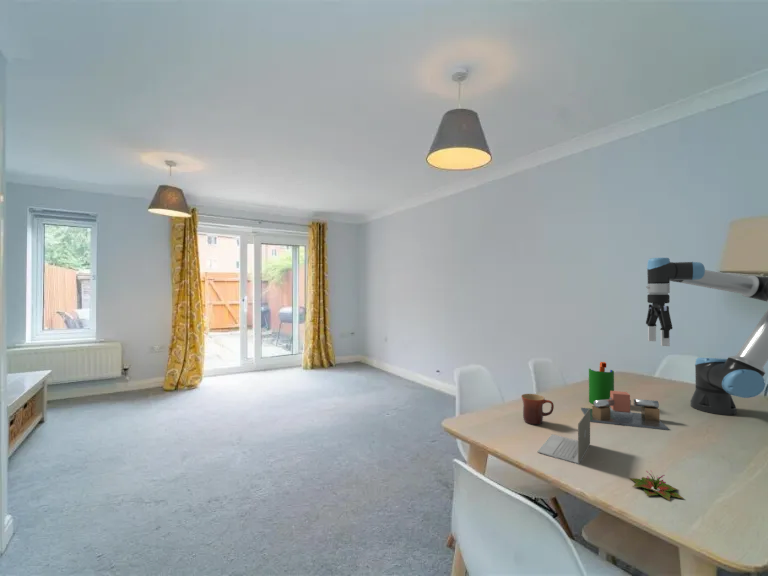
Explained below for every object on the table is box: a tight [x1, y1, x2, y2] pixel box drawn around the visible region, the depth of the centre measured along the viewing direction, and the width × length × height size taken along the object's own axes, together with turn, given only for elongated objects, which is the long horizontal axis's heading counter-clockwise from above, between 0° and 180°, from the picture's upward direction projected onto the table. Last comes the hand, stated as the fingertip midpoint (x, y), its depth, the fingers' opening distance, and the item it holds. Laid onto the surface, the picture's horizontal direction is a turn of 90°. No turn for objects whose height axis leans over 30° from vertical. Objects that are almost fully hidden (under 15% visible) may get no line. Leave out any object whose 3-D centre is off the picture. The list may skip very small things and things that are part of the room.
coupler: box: [609, 390, 632, 412], centre depth 150 cm, size 7×4×7 cm, turn 71°
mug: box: [521, 393, 555, 426], centre depth 144 cm, size 12×9×10 cm
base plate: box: [580, 398, 669, 431], centre depth 148 cm, size 27×15×8 cm, turn 71°
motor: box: [588, 361, 615, 408], centre depth 167 cm, size 10×9×20 cm
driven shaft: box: [591, 399, 615, 420], centre depth 147 cm, size 8×4×7 cm, turn 106°
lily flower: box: [629, 470, 685, 502], centre depth 97 cm, size 12×12×5 cm
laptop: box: [537, 408, 591, 465], centre depth 121 cm, size 18×12×13 cm
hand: (658, 343), depth 152 cm, fingers open, 13 cm apart
